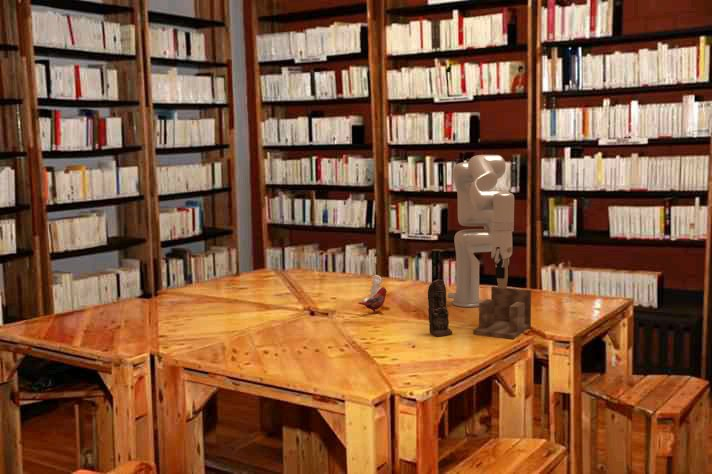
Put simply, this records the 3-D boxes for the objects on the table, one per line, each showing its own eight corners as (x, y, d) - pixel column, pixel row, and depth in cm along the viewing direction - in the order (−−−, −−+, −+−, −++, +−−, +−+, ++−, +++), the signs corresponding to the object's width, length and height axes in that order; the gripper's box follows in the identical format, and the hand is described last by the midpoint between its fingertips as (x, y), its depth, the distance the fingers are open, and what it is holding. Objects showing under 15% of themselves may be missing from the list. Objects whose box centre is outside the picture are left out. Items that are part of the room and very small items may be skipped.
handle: (508, 290, 290) (509, 248, 287) (491, 288, 292) (492, 247, 290) (512, 287, 294) (513, 246, 292) (495, 286, 297) (496, 245, 295)
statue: (437, 337, 287) (437, 282, 285) (426, 332, 294) (426, 278, 291) (453, 334, 291) (453, 280, 288) (442, 330, 297) (442, 277, 294)
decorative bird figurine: (389, 310, 329) (389, 286, 328) (360, 318, 316) (360, 293, 315) (384, 309, 331) (384, 285, 330) (355, 317, 318) (354, 292, 317)
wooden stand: (473, 334, 291) (473, 296, 289) (492, 322, 308) (492, 286, 306) (513, 339, 284) (514, 300, 282) (530, 326, 301) (531, 289, 299)
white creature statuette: (361, 304, 342) (361, 276, 340) (368, 300, 350) (368, 272, 348) (382, 305, 339) (382, 277, 337) (389, 301, 346) (389, 274, 345)
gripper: (500, 223, 299) (500, 272, 302) (485, 229, 285) (484, 280, 287) (520, 224, 295) (519, 274, 298) (505, 230, 281) (504, 282, 284)
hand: (502, 276), depth 293 cm, fingers closed on handle, 3 cm apart
